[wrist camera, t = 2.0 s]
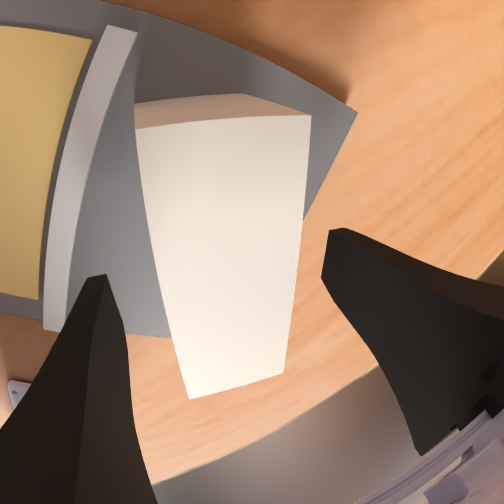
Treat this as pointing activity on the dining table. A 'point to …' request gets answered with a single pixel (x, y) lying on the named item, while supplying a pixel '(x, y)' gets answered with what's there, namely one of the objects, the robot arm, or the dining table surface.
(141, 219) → the grey ridged board
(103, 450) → the robot arm
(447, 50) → the dining table surface
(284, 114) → the frame block
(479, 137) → the dining table surface
